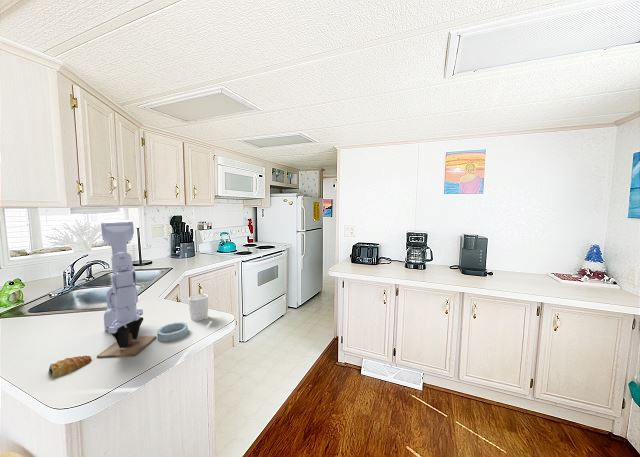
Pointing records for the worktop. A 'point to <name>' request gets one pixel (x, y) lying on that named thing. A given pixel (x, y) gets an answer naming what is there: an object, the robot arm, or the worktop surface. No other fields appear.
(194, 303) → the white cup
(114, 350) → the lid
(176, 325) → the bowl
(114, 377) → the worktop surface
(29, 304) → the worktop surface
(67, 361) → the pastry
